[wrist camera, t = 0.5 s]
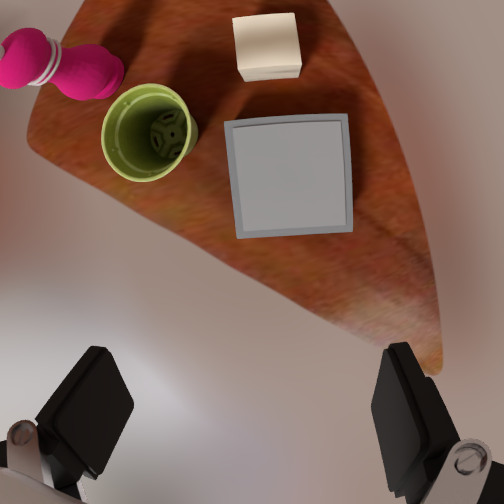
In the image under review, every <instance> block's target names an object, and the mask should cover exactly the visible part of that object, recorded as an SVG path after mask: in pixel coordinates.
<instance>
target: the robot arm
mask: <svg viewBox="0 0 504 504" xmlns="http://www.w3.org/2000/svg"><path fill="white" fill-rule="evenodd" d="M133 408H134V402H133V399H132V397H131V395H130V393H129V391H128V389H127V387H126V385H125V383H124V381H123V378H122V376H121V374H120V372H119V370H118V367H117V365H116V363H115V361H114V358H113V356H112V354H111V353H110V352H109V351H108V349H107V348H106V347H99V346H90V347H89V349H88V350H87V351H86V352H85V353H84V355H83V356H82V357H81V358H80V360H79V361H78V362H77V363H76V365H75V366H74V367H73V369H72V370H71V371H70V372H69V374H68V375H67V376H66V378H65V379H64V380H63V381H62V383H61V384H60V385H59V387H58V388H57V389H56V391H55V392H54V393H53V395H52V396H51V397H50V399H49V400H48V401H47V403H46V404H45V405H44V407H43V408H42V409H41V411H40V412H39V414H38V415H37V416H36V418H35V420H36V421H37V422H38V425H37V426H35V424H34V423H33V422H31V421H30V420H21V421H18V422H16V423H15V424H14V425H12V427H11V428H10V429H9V431H8V433H7V440H4V441H1V442H0V504H89V503H88V500H87V498H86V494H85V491H84V488H83V485H82V481H81V476H82V474H83V475H84V476H86V477H88V478H91V479H93V480H96V479H97V477H98V475H100V474H102V473H103V471H104V469H105V466H106V464H107V462H108V460H109V458H110V456H111V454H112V452H113V450H114V448H115V445H116V443H117V441H118V439H119V437H120V435H121V433H122V431H123V429H124V427H125V425H126V423H127V420H128V419H129V417H130V415H131V413H132V411H133ZM371 410H372V415H373V419H374V423H375V428H376V432H377V436H378V440H379V445H380V449H381V454H382V459H383V463H384V468H385V473H386V478H387V483H388V488H389V490H390V492H393V491H394V492H395V497H396V498H398V497H401V496H405V498H406V503H407V504H504V465H503V464H500V463H497V462H495V461H492V455H491V451H490V449H489V447H488V446H487V445H486V444H485V443H484V442H482V441H480V440H478V439H464V440H462V441H461V440H460V438H459V435H458V433H457V431H456V429H455V426H454V424H453V422H452V419H451V417H450V415H449V413H448V411H447V408H446V406H445V404H444V402H443V400H442V398H441V396H440V394H439V391H438V390H437V388H436V385H435V383H434V381H433V380H432V379H431V378H430V377H425V375H424V373H423V371H422V369H421V367H420V365H419V363H418V361H417V359H416V357H415V355H414V353H413V351H412V350H411V348H410V346H409V344H408V343H407V342H400V343H393V344H390V345H389V347H388V349H384V351H383V355H382V360H381V365H380V369H379V375H378V378H377V383H376V387H375V391H374V395H373V399H372V403H371Z"/></svg>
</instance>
